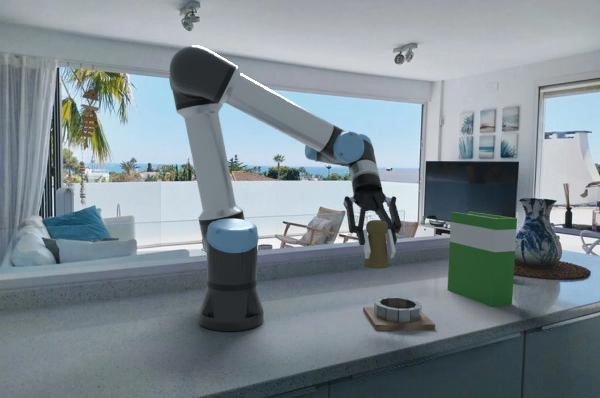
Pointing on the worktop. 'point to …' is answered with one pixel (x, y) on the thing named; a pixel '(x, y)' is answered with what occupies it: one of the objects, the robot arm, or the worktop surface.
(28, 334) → the worktop surface
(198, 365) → the worktop surface
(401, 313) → the steel collar
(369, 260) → the cork
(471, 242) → the cereal box
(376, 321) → the walnut board
